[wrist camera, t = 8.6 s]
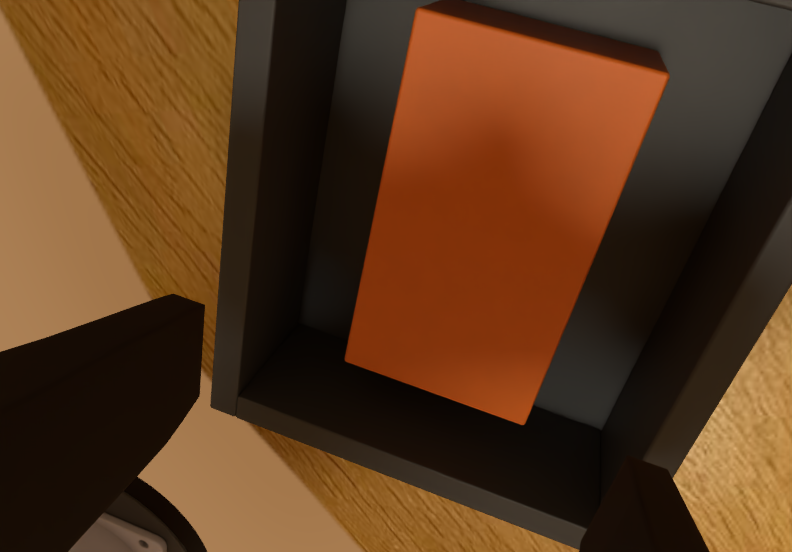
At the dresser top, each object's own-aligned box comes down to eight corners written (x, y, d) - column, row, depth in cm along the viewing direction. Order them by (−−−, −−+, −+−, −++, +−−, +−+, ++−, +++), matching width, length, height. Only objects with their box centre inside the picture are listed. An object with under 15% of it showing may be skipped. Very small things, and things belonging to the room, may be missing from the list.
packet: (377, 307, 19) (343, 362, 17) (448, -4, 15) (415, 6, 12) (535, 361, 19) (524, 427, 16) (660, 51, 14) (672, 73, 12)
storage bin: (284, 321, 22) (209, 407, 18) (347, -141, 15) (250, -175, 11) (617, 440, 20) (619, 566, 16) (861, -23, 13) (975, -10, 9)
